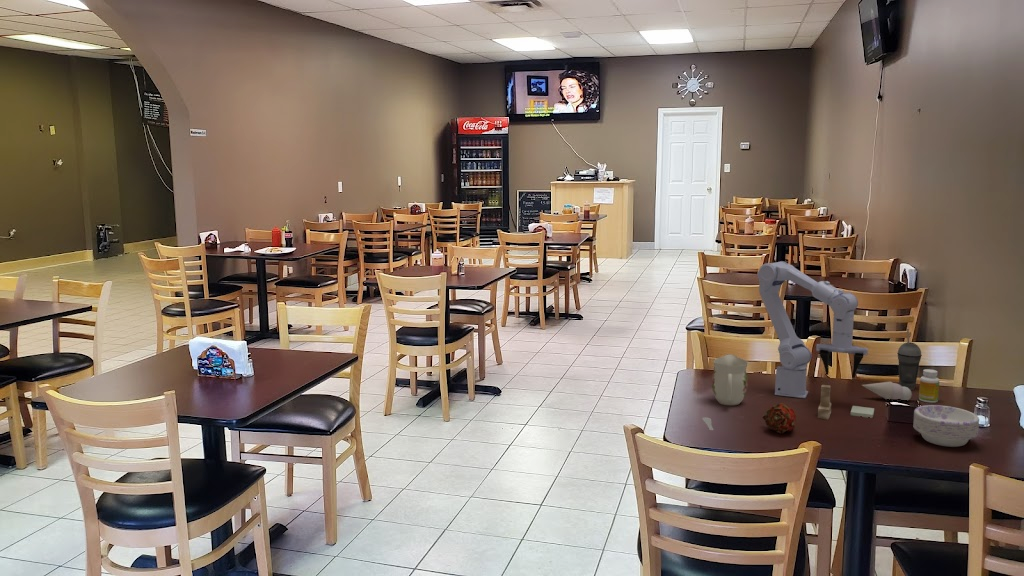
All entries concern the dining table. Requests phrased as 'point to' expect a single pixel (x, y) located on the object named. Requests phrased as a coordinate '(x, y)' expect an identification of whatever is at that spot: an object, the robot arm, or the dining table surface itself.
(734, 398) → the pitcher
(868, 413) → the tile
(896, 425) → the dining table surface
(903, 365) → the beverage cup
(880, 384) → the ice cream cone
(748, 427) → the dining table surface
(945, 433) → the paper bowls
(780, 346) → the robot arm
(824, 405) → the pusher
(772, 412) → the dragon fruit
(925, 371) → the supplement bottle
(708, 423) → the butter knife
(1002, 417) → the dining table surface
